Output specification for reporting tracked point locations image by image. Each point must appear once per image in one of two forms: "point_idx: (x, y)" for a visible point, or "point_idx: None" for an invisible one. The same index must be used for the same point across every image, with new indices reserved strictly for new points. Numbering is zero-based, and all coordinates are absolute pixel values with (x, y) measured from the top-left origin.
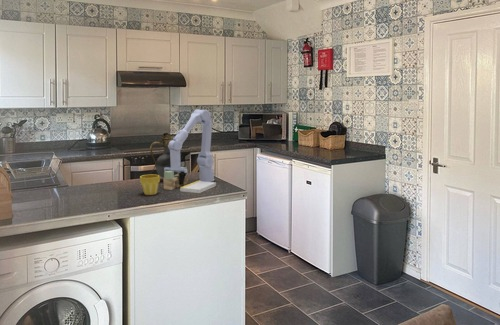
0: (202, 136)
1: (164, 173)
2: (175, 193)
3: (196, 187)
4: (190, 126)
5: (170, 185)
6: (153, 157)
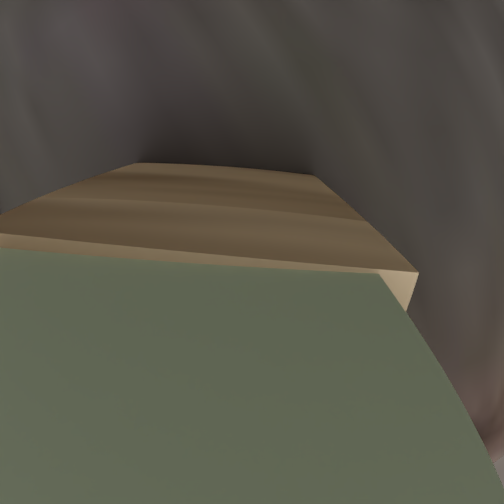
0: None
1: None
2: (6, 20)
3: None
4: None
5: (111, 177)
6: None
